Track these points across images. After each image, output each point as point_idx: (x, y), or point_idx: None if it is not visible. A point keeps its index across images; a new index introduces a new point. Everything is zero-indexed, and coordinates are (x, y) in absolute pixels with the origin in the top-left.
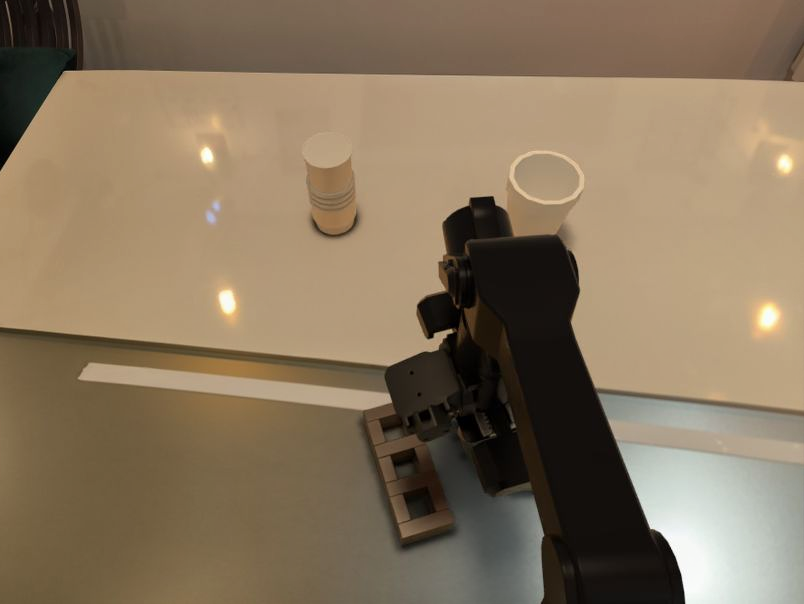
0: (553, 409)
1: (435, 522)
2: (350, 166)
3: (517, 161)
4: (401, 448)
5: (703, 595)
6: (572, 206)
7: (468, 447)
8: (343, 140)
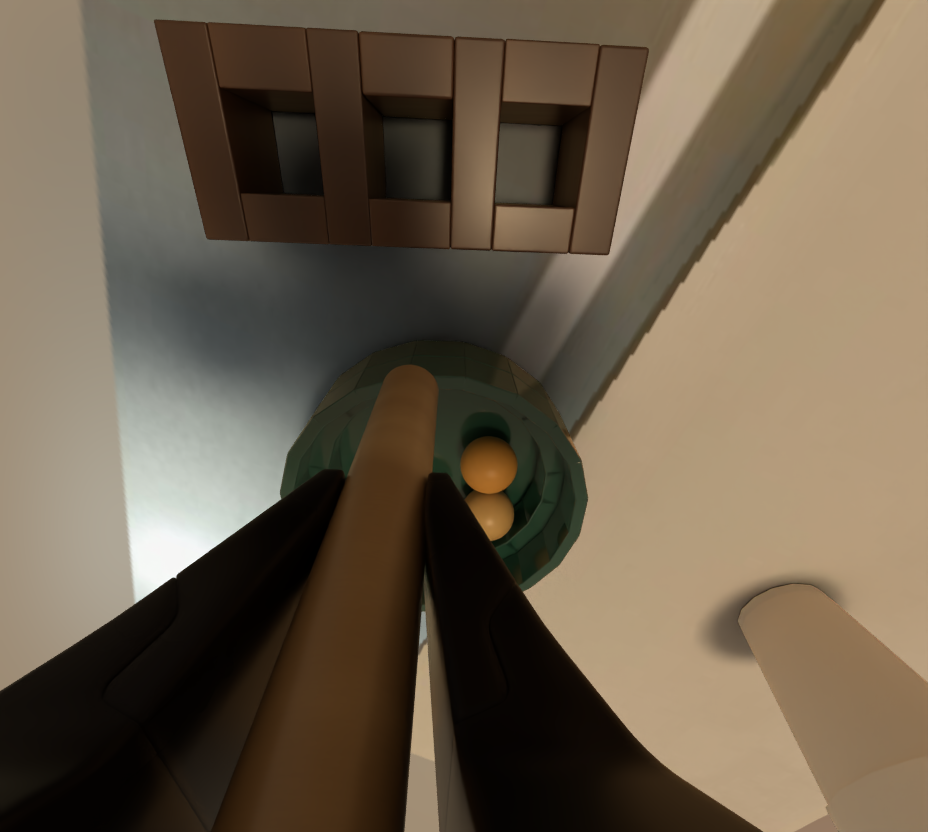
0: None
1: (206, 176)
2: None
3: None
4: (461, 154)
5: (134, 575)
6: (835, 824)
7: (412, 359)
8: None
